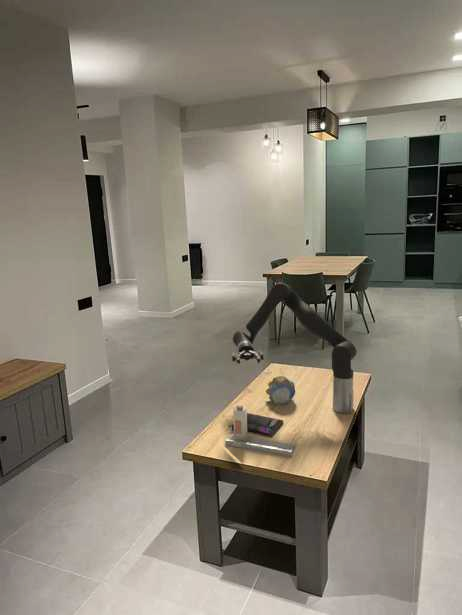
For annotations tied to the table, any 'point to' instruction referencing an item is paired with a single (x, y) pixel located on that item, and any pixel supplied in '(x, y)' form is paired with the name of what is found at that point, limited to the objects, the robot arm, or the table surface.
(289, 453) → the rail
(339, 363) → the robot arm
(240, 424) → the cream bottle
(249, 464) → the table surface
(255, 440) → the shelf board
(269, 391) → the decorative rock
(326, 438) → the table surface
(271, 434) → the box
